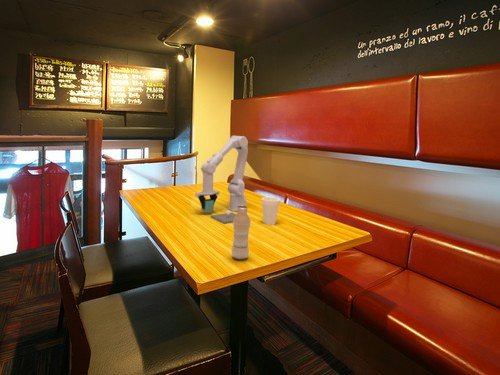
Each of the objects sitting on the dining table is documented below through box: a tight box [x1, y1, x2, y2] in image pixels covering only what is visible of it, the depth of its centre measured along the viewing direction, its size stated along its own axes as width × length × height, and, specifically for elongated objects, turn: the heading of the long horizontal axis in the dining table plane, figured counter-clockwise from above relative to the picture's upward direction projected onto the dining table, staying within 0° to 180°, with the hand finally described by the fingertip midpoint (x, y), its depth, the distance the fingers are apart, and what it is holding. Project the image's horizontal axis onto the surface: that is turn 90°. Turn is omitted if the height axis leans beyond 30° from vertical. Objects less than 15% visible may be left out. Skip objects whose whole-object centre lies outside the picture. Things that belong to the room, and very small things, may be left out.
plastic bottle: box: [231, 205, 252, 260], centre depth 119 cm, size 6×7×20 cm
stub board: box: [209, 209, 237, 225], centre depth 173 cm, size 14×14×4 cm
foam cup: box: [261, 196, 281, 226], centre depth 167 cm, size 10×9×13 cm
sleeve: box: [201, 198, 215, 213], centre depth 180 cm, size 5×5×6 cm
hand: (207, 208), depth 180 cm, fingers closed on sleeve, 5 cm apart
